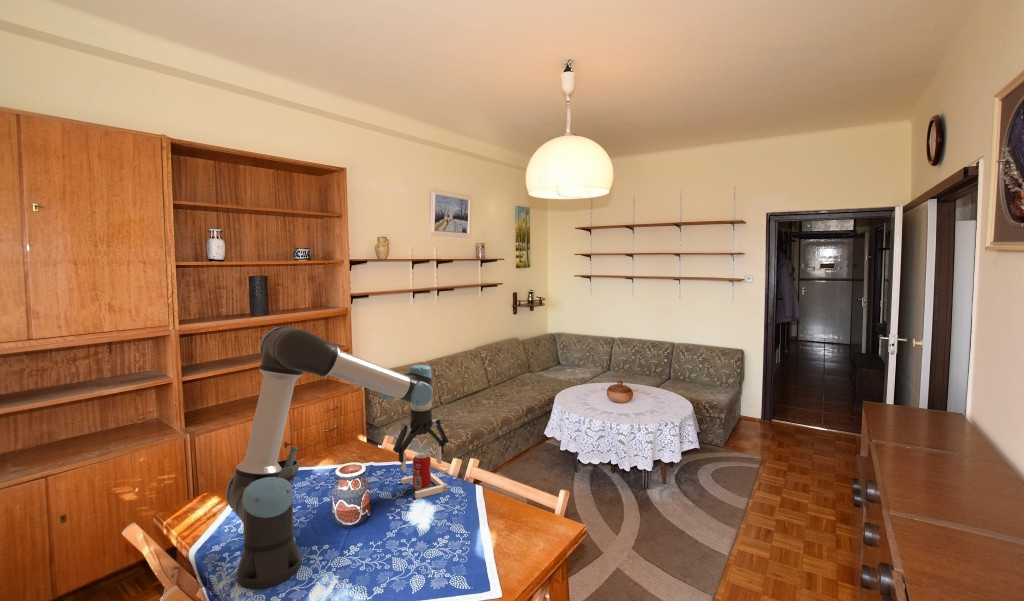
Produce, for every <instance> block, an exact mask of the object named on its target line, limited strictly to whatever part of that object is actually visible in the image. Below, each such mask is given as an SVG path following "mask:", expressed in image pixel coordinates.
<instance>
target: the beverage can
mask: <svg viewBox="0 0 1024 601" xmlns="http://www.w3.org/2000/svg"><path fill="white" fill-rule="evenodd" d="M431 464H432V463H431V457H430V454H429V453H427V452H418V453H416V454H414V457H413V458H412V476H413V482H412V486H413V488H414V489H415V491H419V490H423V489H427V488H430V486H431V485H432V483H431V482H432V481H431V473H432V471H431V468H432V466H431Z"/></svg>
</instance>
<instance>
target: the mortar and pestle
mask: <svg viewBox="0 0 1024 601" xmlns="http://www.w3.org/2000/svg"><path fill="white" fill-rule="evenodd" d="M289 450H290V451H289V452H288V456H287V458H286V459H283V460H279V461H277V462H278V464H279V465H280V467H281V468H282V469H281V473H280V478H283V479H285V480H287V481H288V482H289V483H290V484H292V483H293V482H294V481H295V477H296V476H297V474H298V472H299V468H300V460H297V459H296V456H297V453H298V450H299V448H298V447H296V446H291V447H290V449H289Z"/></svg>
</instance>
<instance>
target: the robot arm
mask: <svg viewBox="0 0 1024 601" xmlns="http://www.w3.org/2000/svg"><path fill="white" fill-rule="evenodd" d="M259 345H260V346H259V350H260V354H261V360H260V365H259V371H260V373H261V374H262V375H263V379H262V381H261V382H262V384H261V387H260V391H259V396H258V400H257V403H256V404H257V405H256V409H255V413H254V417H253V422H252V427H251V431H250V435H249V439H248V443H247V447H246V452H245V456H244V459H243V461H241V462H240V463H238V464H237V466H236V469H235V473H234V475H233V476H232V477H231V478H230V479H229V481H228V483H227V486H226V490H225V495H226V500H227V503H228V506H229V507H230V508H231V510H233V512H234V513H235V514H236V516H238V518H239V519H240V520H241V521H242V525H243V547H244V548H243V552H242V555H241V557H240V561H239V564H238V567H237V570H236V579H237V580H236V581H237V584H238V585H239V586H240V587H241V588H243V589H246V590H257V591H258V590H264V589H269V588H270V589H271V588H273V587H276V586H279V585H282V584H283V583H285V582H287V581H289V579H291V578H293V577H294V576H295V575H297V573H298V571H299V570H300V568H301V565H302V557H301V553H300V551H299V548H298V546H297V543H296V541H295V538H294V503H293V502H294V493H293V487H292V483H289V482H288V481H287V480H285V479H283V478H280V473H281V469H282V468H281V467H280V465H279V464H278V460H279V456H280V451H281V447H282V442H283V438H284V433H285V430H286V424H287V420H288V416H289V411H290V406H291V403H292V402H291V401H292V398H293V394H294V388H295V386H296V385H295V384H296V381H297V380H298V379H299V378H301V377H302V376H303V374H304V373H308V374H313V375H316V376H320V377H322V378H323V377H324V378H325V377H327V376H331V377H332V378H333V377H334V378H336V379H340V380H342V381H345V382H349V383H351V384H355V385H357V386H360V387H364V388H366V389H369V390H372V391H375V392H378V395H379V397H380V398H381V399H384V400H387V399H388V400H391V399H394V398H395V399H397V400H400V401H404V402H407V403H410V404H409V405H410V423H409V424H405V423H402V424H401V430H400V432H399V434H398V437H397V439H396V442H395V443H394V446H393V449H392V450H393V452H395V453H396V454H398V461H399V463H400V468H401V469H400V470H401V471H402V472H403V473H406V472H407V453H406V449H408V447H409V445H410V444H411V442H412V441H413V440H414V438H416V436H421V435H427V433H428V434H429V435H430V436H431V437H432V438H433V439H434V440H435V441H436V442H437V443H438V444H436V445H435V446H436V450H435V451H436V463H437V464H439V465H441V464H442V455H443V454H444V447H445V446H446V444H449V439H448V437H447V435H446V433H445V432H444V429H443V427H442V425H441V420H440V419H439V418H434V419H432V418H433V414H432V413H433V411H432V410H433V409H432V406H433V405H432V404H433V401H432V398H433V395H434V394H433V393H434V390H433V387H432V380H433V378H432V369H431V366H429V365H426V364H417V365H412V366H410V368H409V372H407V373H400V372H397V371H395V370H392V369H389V368H387V367H385V366H382V365H379V364H377V363H374V362H371V361H368V360H366V359H363V358H362V357H358V356H357V355H353V354H351V353H349V352H345V351H344V350H341V349H340V348H339V345H337V344H335V343H333V342H330V341H327V340H326V339H324V338H321V337H320V336H318V335H316V334H314V333H312V332H310V331H308V330H306V329H303V328H297V327H293V326H287V325H286V326H285V325H284V326H277V327H273V328H272V329H270V330H269V331H267V332H266V333H265V334H264V336H263V337H262V338H261V340H260V344H259ZM432 426H435V428H436V431H437V432H438V434H439V436H440V437H439V436H438V435H437V434H436V433H435V432H434V430H432ZM409 429H410V431H409ZM408 431H409V433H408V435H407V432H408ZM406 436H407V437H406ZM405 437H406V438H405Z"/></svg>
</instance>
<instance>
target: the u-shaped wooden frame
mask: <svg viewBox="0 0 1024 601" xmlns="http://www.w3.org/2000/svg"><path fill="white" fill-rule="evenodd" d="M400 481H401V484H402V485H406V484H409V482H410V483H413V475H409V476H405V477H402V478H401V480H400ZM431 482H432V483H433V484H434V485H435V486H432V487H428V488H427V489H423V490H415V491H414V497H415V499H416V500H417V499H422V498H425V497H429V496H432V495H433V496H434V495H436V494H441V493H444V492H448V485H447V484H446V483H445V482H444V481H442V480H441V479H440V478H438V476H436V475H435V474H434V473H432V472H431ZM405 483H406V484H405Z"/></svg>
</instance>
